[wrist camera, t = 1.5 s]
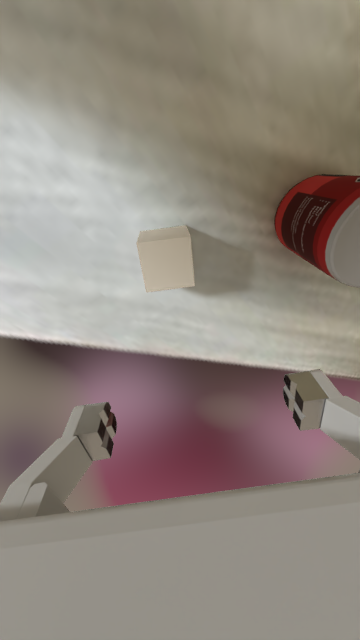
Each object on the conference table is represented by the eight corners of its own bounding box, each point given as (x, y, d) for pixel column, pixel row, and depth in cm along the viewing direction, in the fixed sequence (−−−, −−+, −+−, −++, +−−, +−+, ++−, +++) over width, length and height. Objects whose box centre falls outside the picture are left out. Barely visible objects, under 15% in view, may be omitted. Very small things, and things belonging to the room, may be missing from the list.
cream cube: (140, 231, 27) (136, 243, 23) (185, 225, 27) (190, 236, 23) (148, 274, 30) (146, 292, 25) (189, 268, 30) (194, 286, 25)
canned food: (354, 217, 28) (453, 244, 18) (290, 263, 30) (349, 307, 21) (329, 154, 24) (436, 147, 15) (259, 210, 27) (314, 235, 17)
